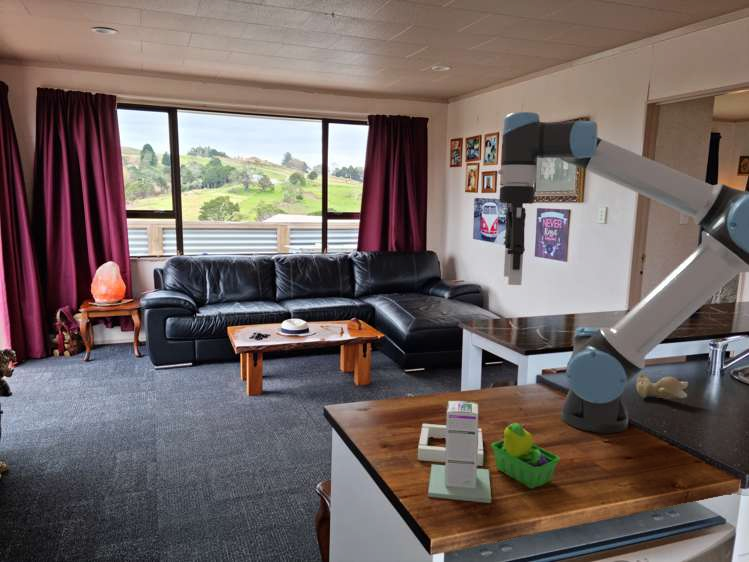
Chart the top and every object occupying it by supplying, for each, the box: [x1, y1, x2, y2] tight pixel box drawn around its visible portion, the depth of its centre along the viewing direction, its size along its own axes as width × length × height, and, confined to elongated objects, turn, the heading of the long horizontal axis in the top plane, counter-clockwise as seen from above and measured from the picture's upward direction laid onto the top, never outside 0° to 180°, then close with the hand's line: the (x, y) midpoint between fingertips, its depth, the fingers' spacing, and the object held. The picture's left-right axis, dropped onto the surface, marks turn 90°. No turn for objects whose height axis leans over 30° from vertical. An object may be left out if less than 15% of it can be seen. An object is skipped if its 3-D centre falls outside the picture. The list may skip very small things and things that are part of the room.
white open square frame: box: [417, 423, 484, 467], centre depth 119 cm, size 13×13×2 cm
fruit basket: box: [491, 422, 561, 489], centre depth 108 cm, size 11×9×11 cm
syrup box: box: [444, 400, 479, 489], centre depth 103 cm, size 6×6×14 cm
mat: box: [427, 463, 492, 504], centre depth 104 cm, size 11×11×1 cm
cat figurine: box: [635, 374, 689, 400], centre depth 152 cm, size 8×7×12 cm
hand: (511, 280), depth 127 cm, fingers open, 13 cm apart
